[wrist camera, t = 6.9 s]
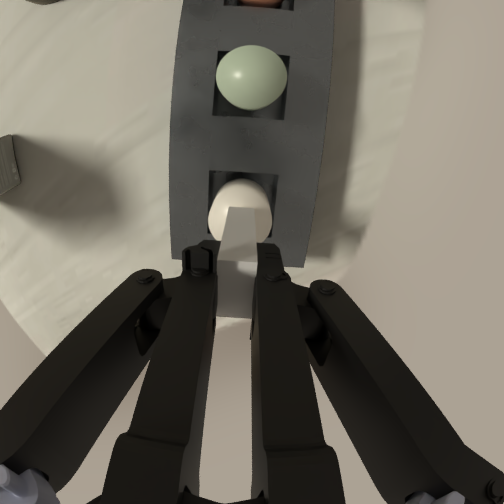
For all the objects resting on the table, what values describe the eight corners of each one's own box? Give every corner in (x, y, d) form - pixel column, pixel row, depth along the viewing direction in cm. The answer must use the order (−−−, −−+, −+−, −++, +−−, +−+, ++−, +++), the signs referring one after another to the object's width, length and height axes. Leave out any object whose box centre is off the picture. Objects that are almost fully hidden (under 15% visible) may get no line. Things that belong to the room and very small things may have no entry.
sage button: (219, 109, 17) (213, 106, 14) (224, 57, 15) (219, 43, 12) (277, 113, 17) (283, 111, 14) (282, 61, 15) (289, 49, 12)
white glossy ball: (214, 227, 21) (207, 248, 18) (215, 176, 19) (208, 188, 16) (265, 230, 21) (268, 252, 18) (270, 180, 19) (275, 193, 16)
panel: (180, 241, 25) (171, 258, 22) (202, -38, 13) (195, -56, 9) (297, 248, 26) (303, 267, 23) (324, -28, 13) (334, -45, 10)
